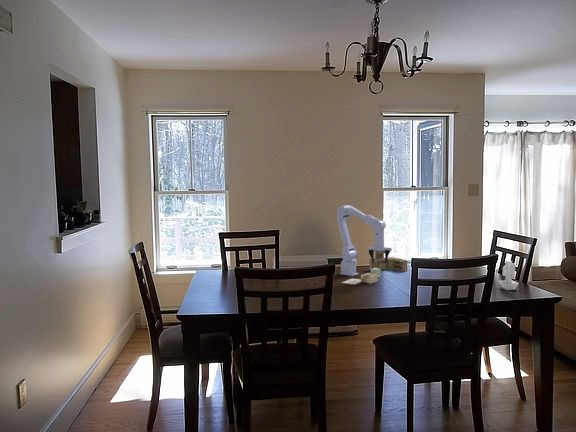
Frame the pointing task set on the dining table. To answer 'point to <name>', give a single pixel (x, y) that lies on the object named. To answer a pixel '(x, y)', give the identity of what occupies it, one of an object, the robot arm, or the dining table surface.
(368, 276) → the beech base
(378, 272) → the sage cube
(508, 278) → the figurine
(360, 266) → the dining table surface
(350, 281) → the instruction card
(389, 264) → the toy kitchen set
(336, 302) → the dining table surface
